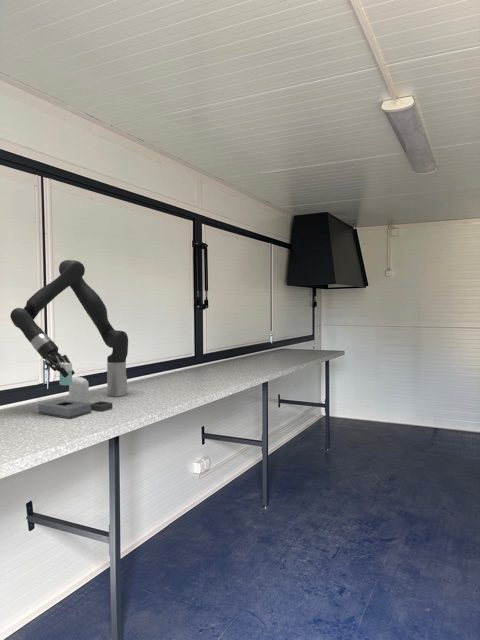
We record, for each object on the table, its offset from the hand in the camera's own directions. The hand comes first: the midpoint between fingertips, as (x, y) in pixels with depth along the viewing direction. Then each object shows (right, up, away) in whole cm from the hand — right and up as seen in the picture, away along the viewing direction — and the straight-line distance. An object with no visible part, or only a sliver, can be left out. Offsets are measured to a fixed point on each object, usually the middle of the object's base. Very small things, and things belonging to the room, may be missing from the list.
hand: (69, 375), depth 194 cm
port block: (-2, -16, +1) cm, 17 cm away
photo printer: (-3, -16, +20) cm, 26 cm away
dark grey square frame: (+10, -16, +9) cm, 21 cm away
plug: (-2, -4, 0) cm, 4 cm away
